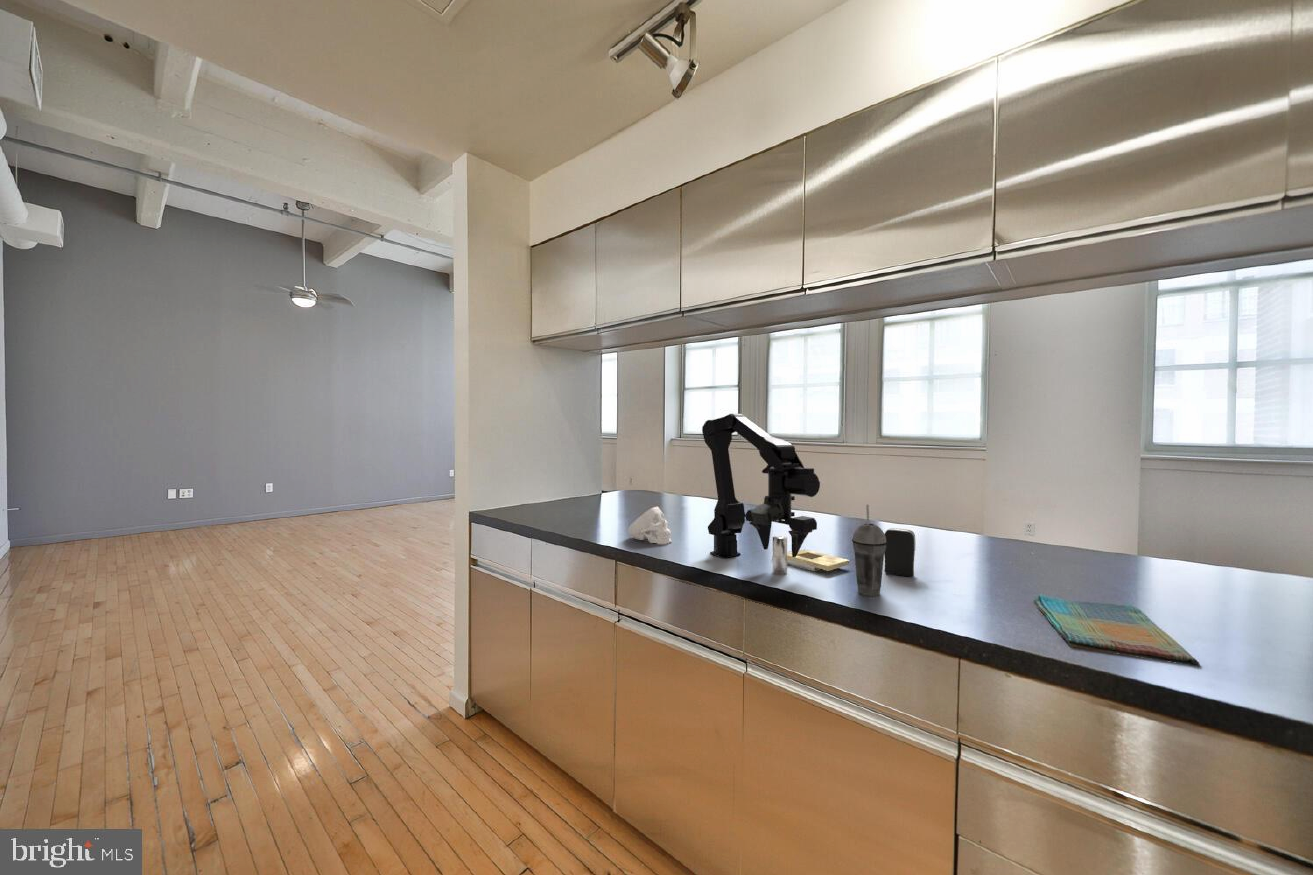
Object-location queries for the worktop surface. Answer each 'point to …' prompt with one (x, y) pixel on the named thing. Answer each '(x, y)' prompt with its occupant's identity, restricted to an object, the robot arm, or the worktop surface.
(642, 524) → the skull bowl
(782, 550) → the pin
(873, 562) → the beverage cup
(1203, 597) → the worktop surface
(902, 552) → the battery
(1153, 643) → the dish towel
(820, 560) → the cream inset tray
